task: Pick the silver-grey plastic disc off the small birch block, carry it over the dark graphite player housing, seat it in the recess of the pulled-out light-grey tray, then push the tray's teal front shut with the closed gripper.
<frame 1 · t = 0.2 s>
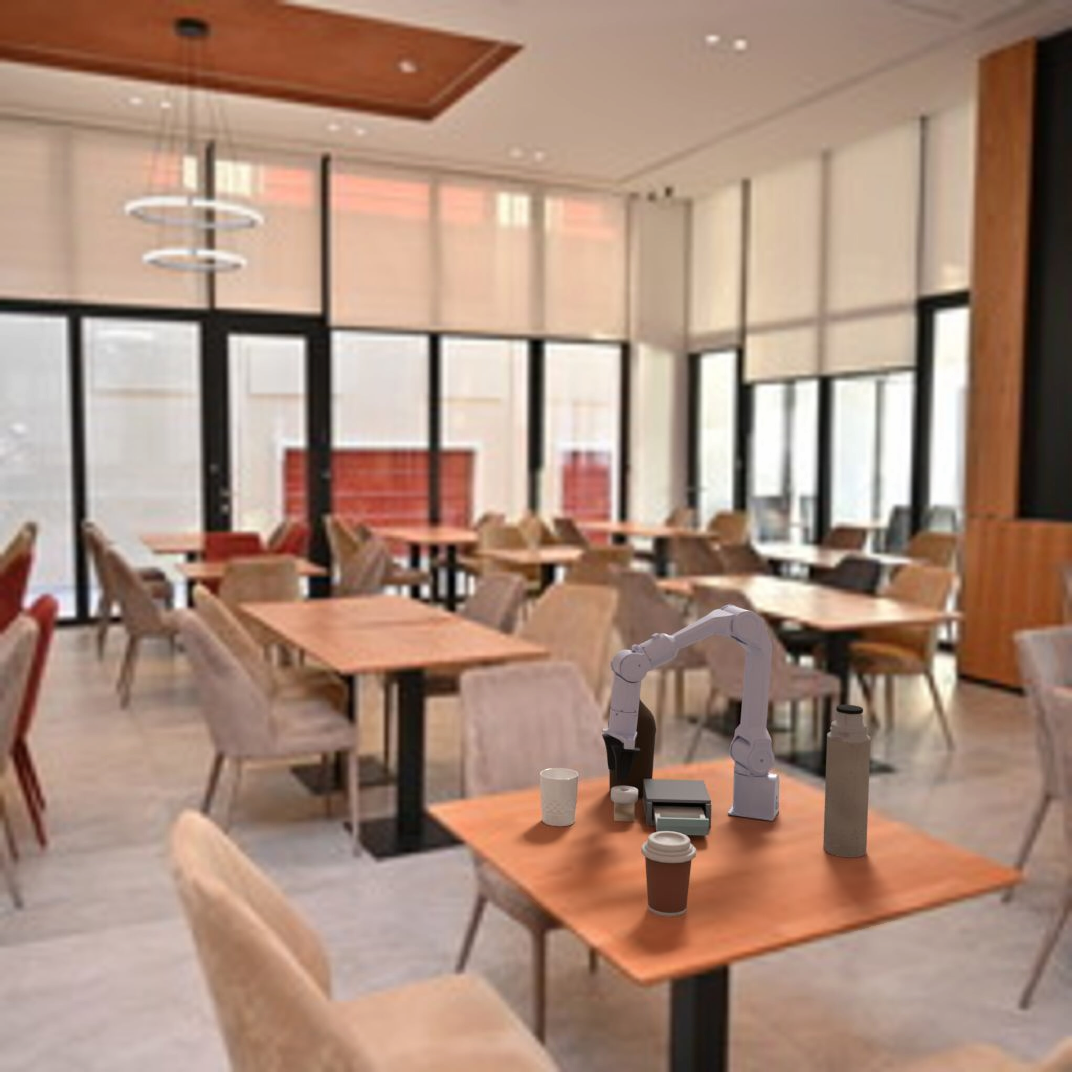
hand: (617, 774, 218), 10 cm above the table, tool pointing down, fingers open, 7 cm apart
olive oil: (630, 793, 238), on the table
coffee cup: (667, 909, 177), on the table
housing: (675, 814, 224), on the table
birch block: (623, 817, 221), on the table
tray: (680, 816, 214), point 3 cm above the table, slide at 8.5 cm
thermos bottle: (844, 850, 205), on the table
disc: (624, 799, 221), point 4 cm above the table, touching birch block
white cup: (558, 822, 219), on the table
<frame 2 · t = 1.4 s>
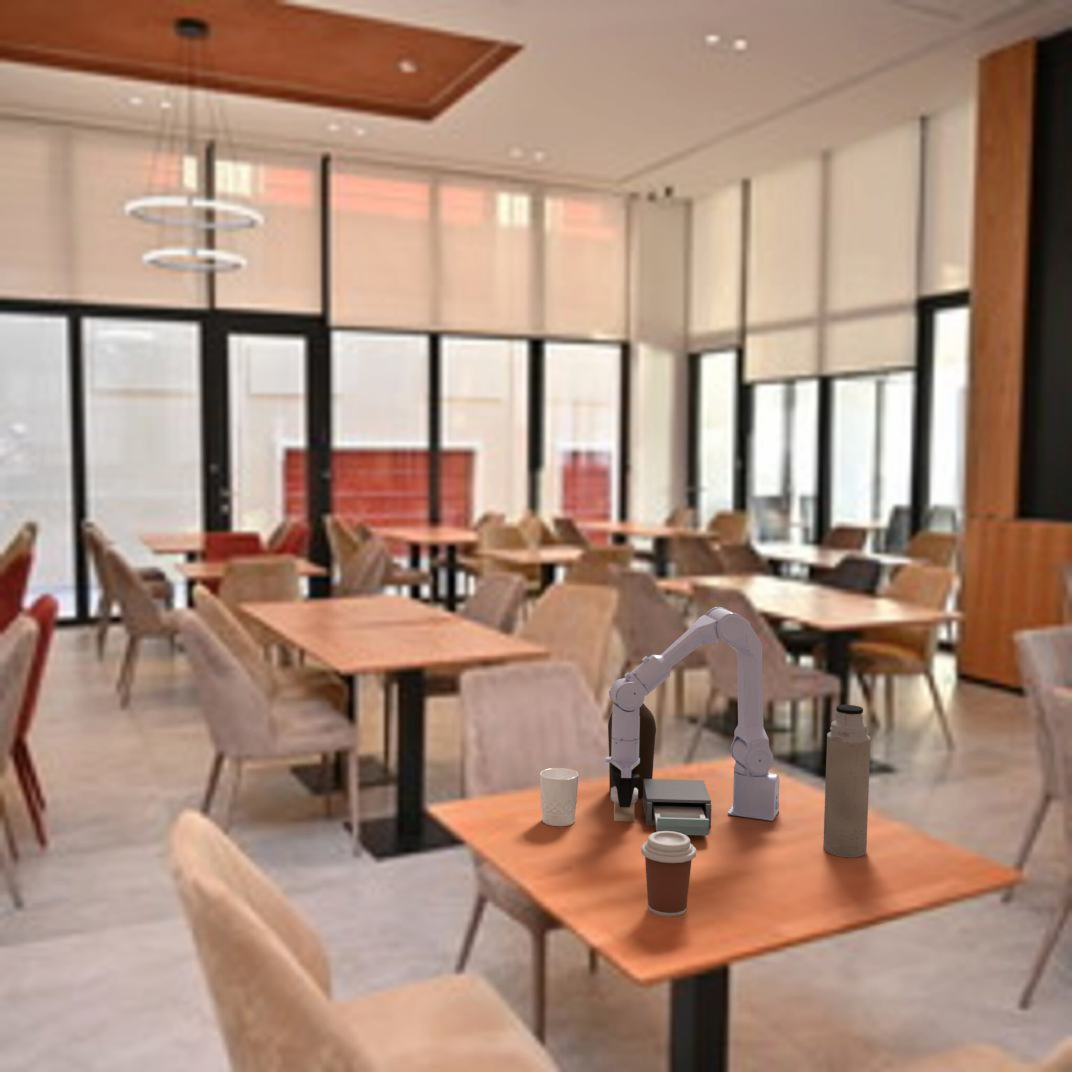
hand: (624, 801, 221), 3 cm above the table, tool pointing down, fingers closed on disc, 6 cm apart
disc: (624, 799, 221), point 4 cm above the table, touching birch block, gripper
everything else where it was.
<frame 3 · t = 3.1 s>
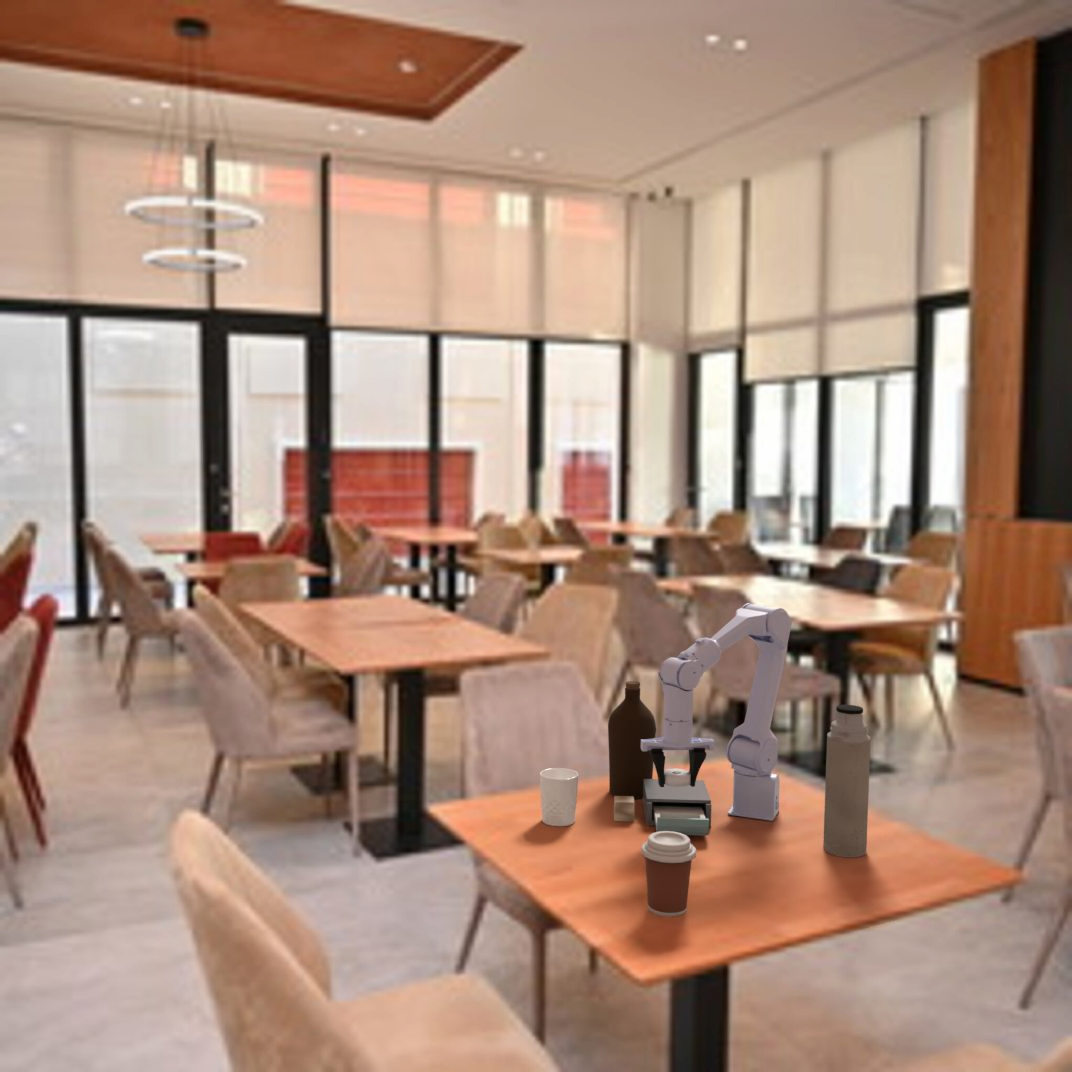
hand: (676, 785, 213), 9 cm above the table, tool pointing down, fingers closed on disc, 6 cm apart
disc: (676, 782, 213), point 10 cm above the table, touching gripper
everything else where it was.
when the fingers open (3 cm above the table, at t = 4.8 s): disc drops 2 cm, resting on tray.
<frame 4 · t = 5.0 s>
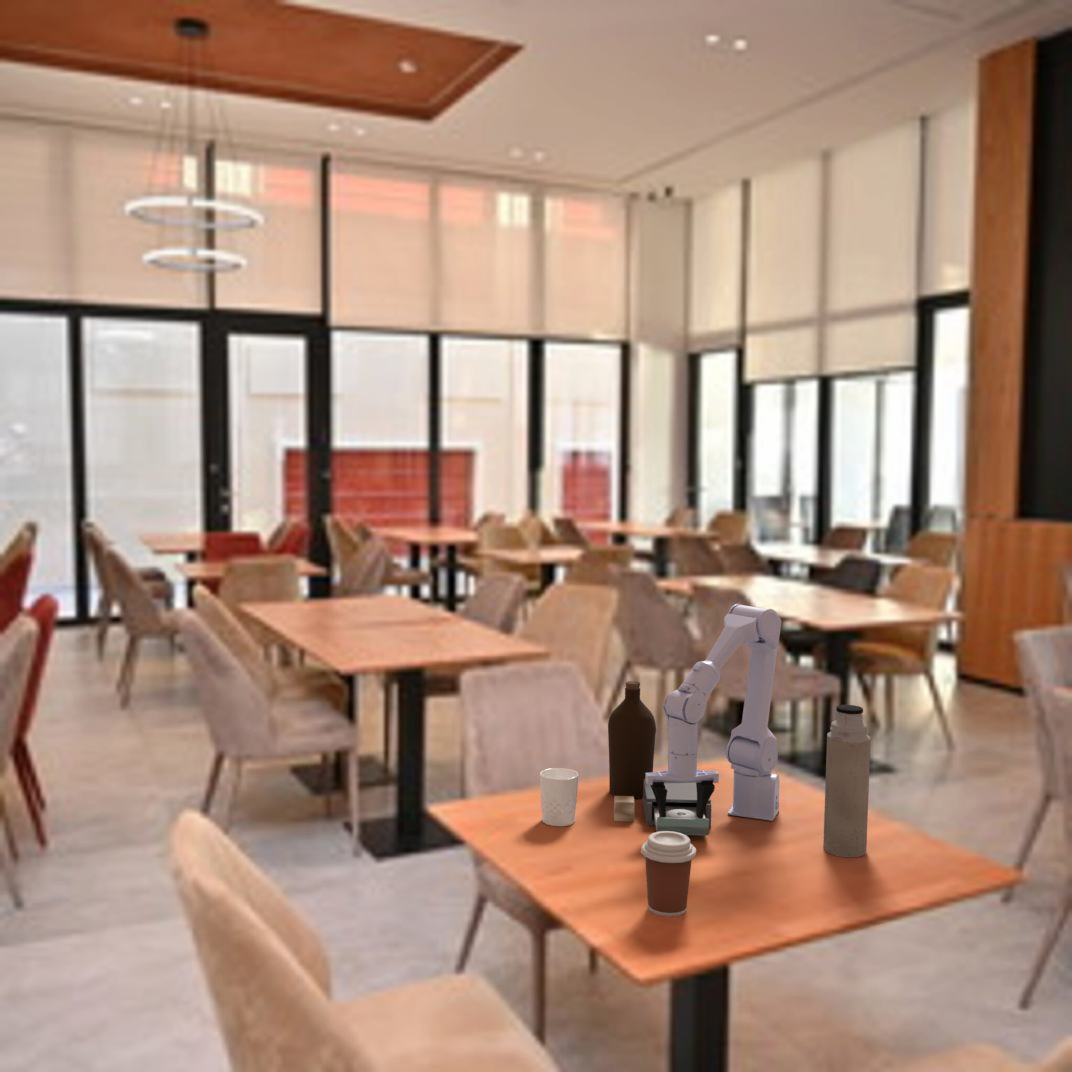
hand: (681, 818, 213), 3 cm above the table, tool pointing down, fingers open, 7 cm apart
tray: (680, 816, 214), point 3 cm above the table, slide at 8.5 cm, touching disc
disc: (681, 823, 213), point 2 cm above the table, touching tray
everything else where it was.
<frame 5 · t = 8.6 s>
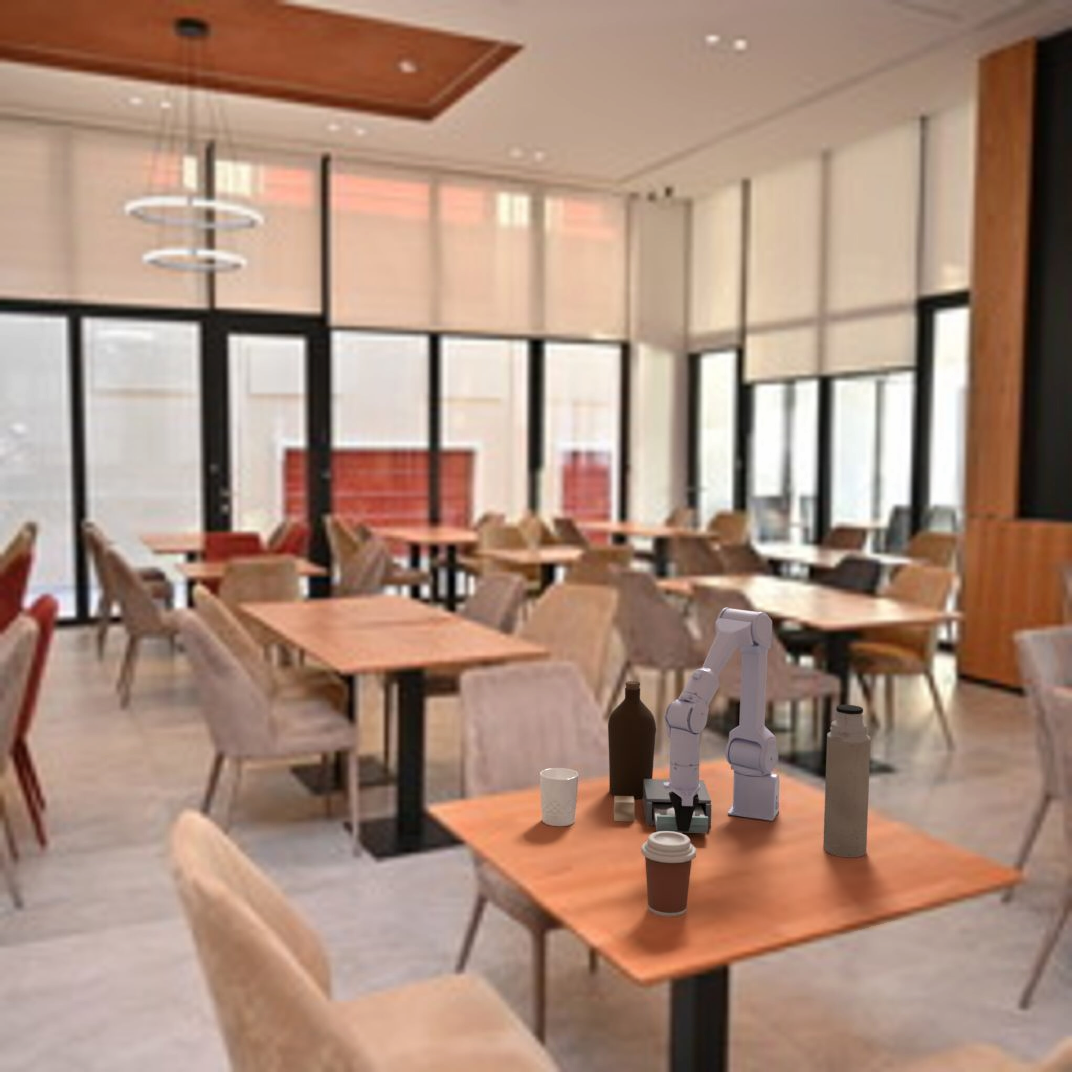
hand: (683, 830, 208), 2 cm above the table, tool pointing down, fingers closed
tray: (679, 814, 215), point 3 cm above the table, slide at 7.3 cm, touching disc, gripper
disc: (680, 821, 214), point 2 cm above the table, touching tray
everything else where it was.
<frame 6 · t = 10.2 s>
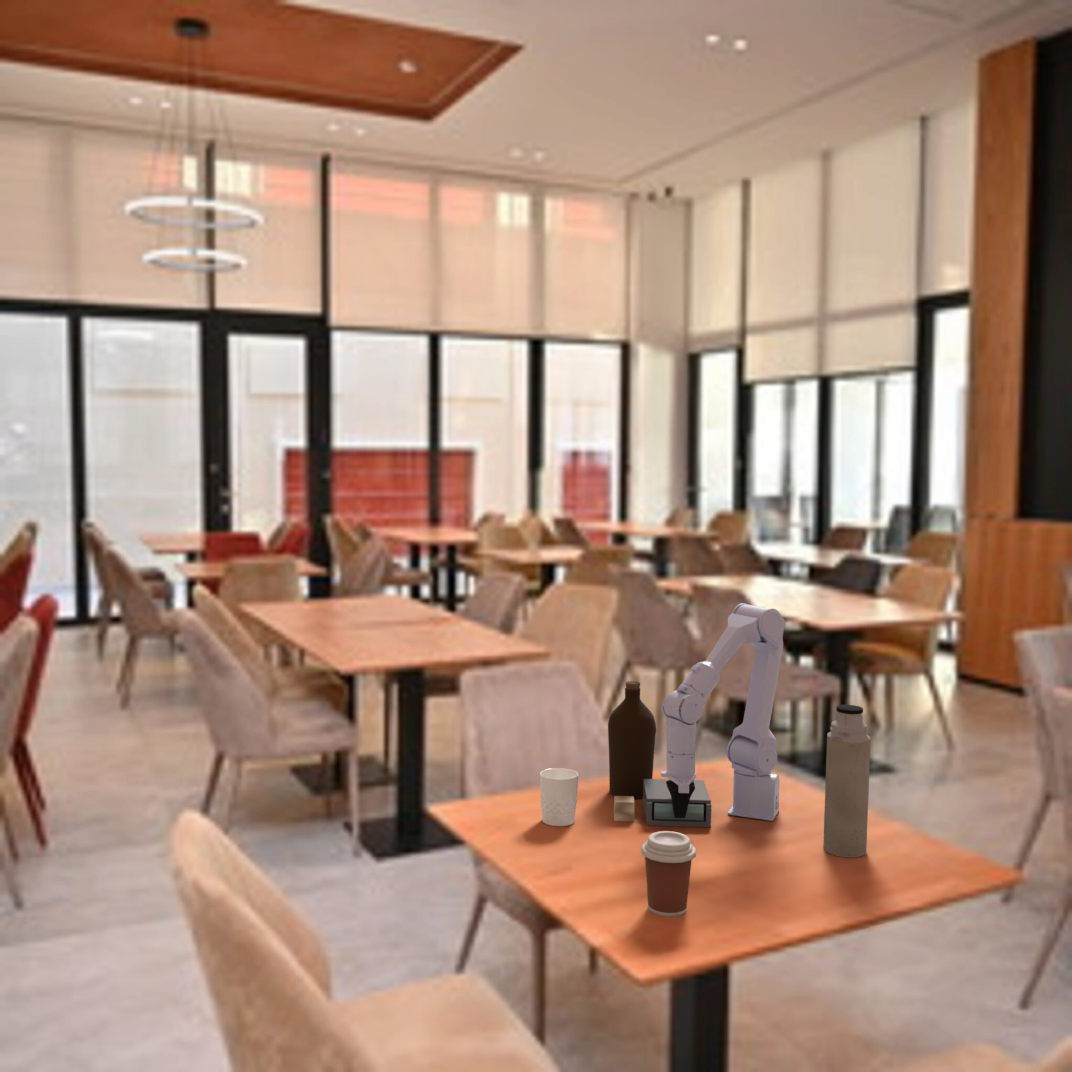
hand: (679, 817, 216), 2 cm above the table, tool pointing down, fingers closed
tray: (676, 802, 223), point 3 cm above the table, slide at -0.1 cm, touching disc, gripper
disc: (677, 809, 221), point 2 cm above the table, touching tray
everything else where it was.
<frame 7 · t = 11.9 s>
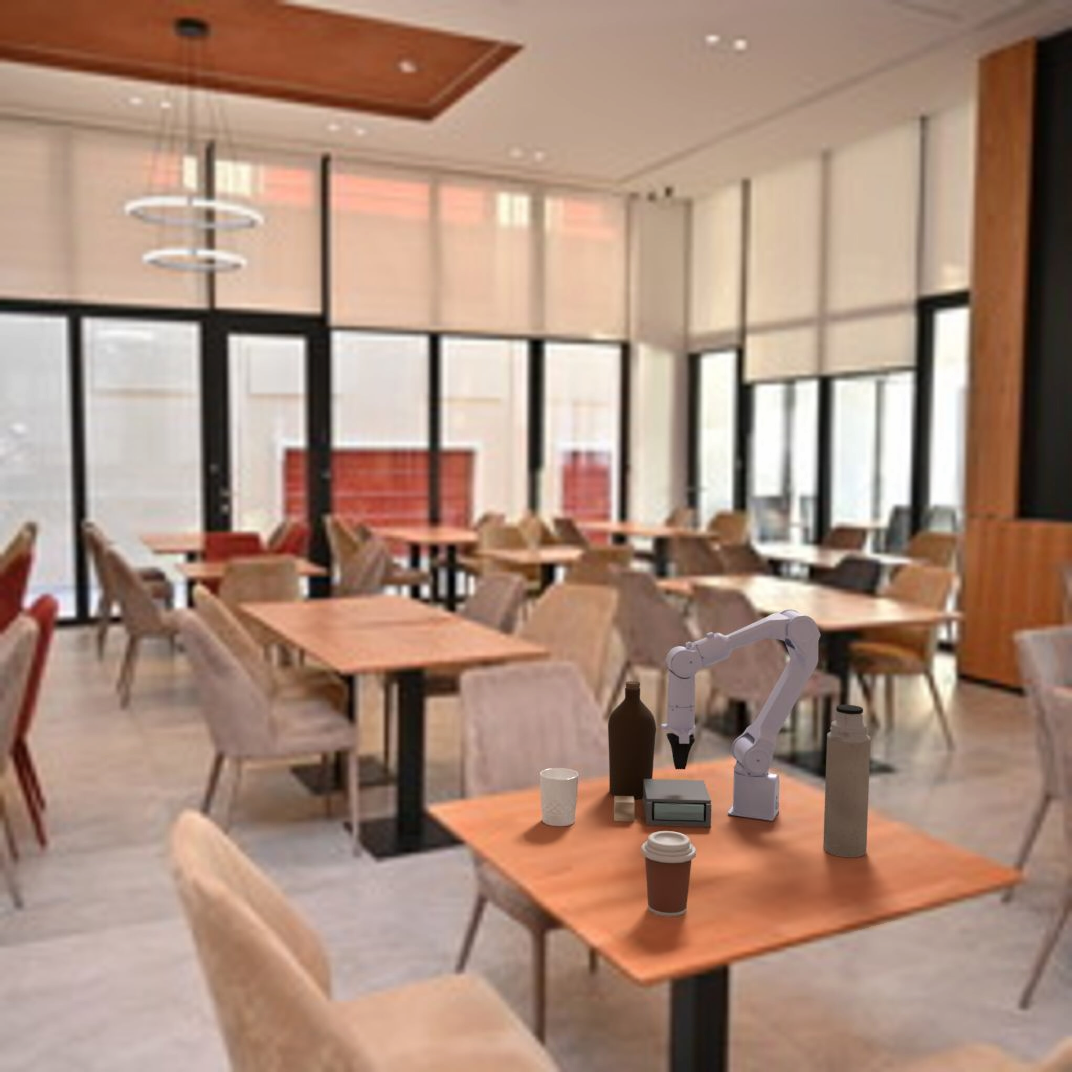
hand: (679, 768, 224), 10 cm above the table, tool pointing down, fingers closed
tray: (676, 802, 223), point 3 cm above the table, slide at 0.0 cm, touching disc
everything else where it was.
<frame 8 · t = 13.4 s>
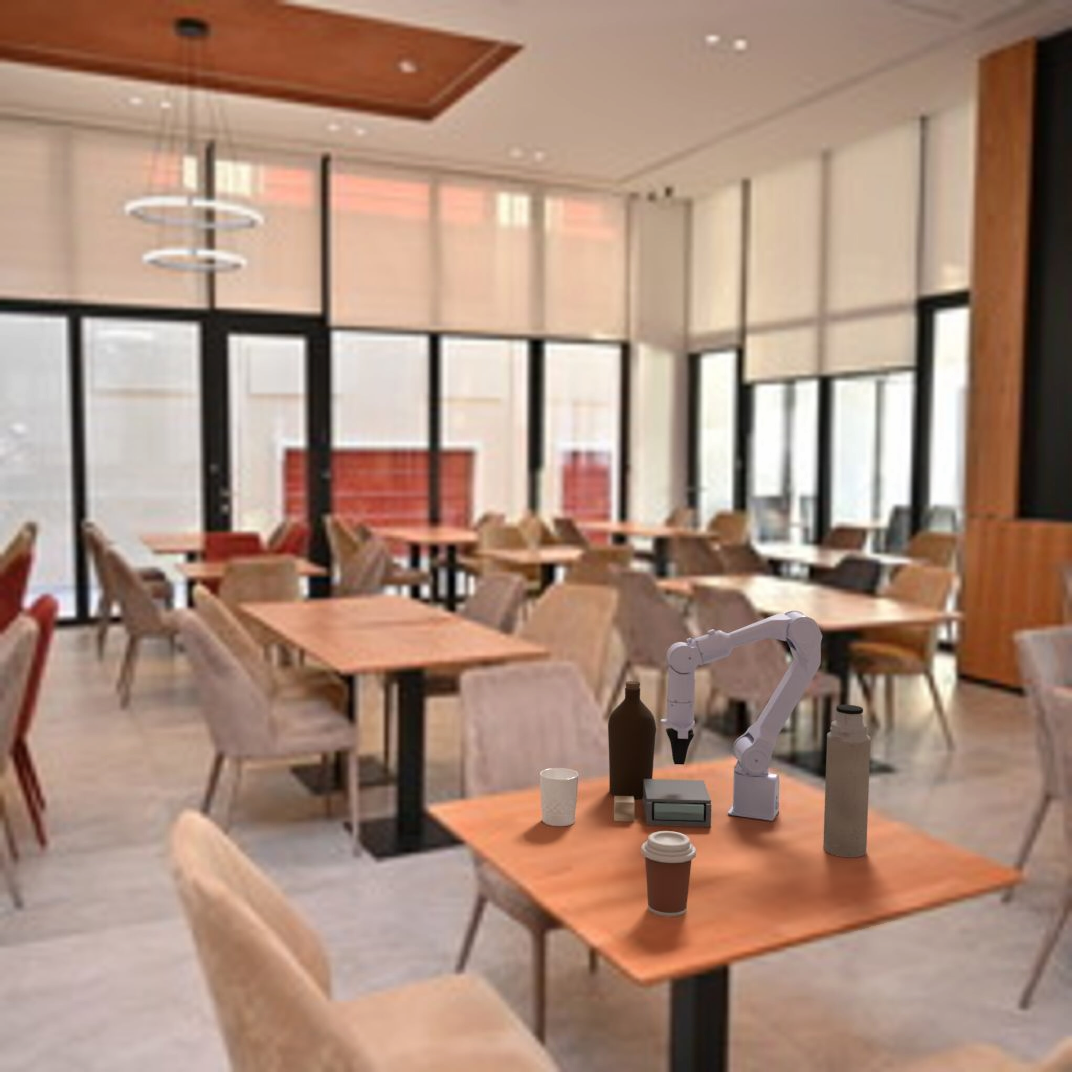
hand: (678, 763, 225), 10 cm above the table, tool pointing down, fingers closed
nothing on the table moved.
at the end: tray slide at 0.0 cm; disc 2.4 cm from the housing (horizontally); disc point 1.9 cm above the table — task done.
